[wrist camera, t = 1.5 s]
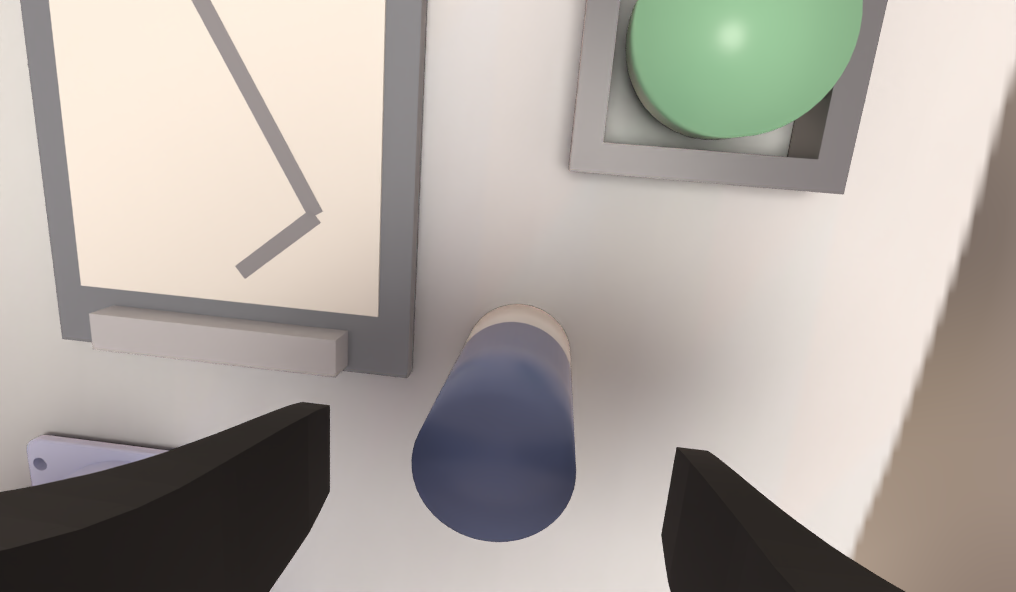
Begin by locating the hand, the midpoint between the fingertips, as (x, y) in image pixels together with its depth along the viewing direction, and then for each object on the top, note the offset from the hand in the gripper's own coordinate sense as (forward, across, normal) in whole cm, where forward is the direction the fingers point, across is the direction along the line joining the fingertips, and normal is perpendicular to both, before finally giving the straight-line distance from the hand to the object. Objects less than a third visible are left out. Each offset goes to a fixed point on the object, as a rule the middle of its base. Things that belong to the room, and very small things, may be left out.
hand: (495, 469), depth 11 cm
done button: (+6, -4, -9) cm, 12 cm away
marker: (+7, 0, 0) cm, 7 cm away
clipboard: (+7, +10, -7) cm, 14 cm away
